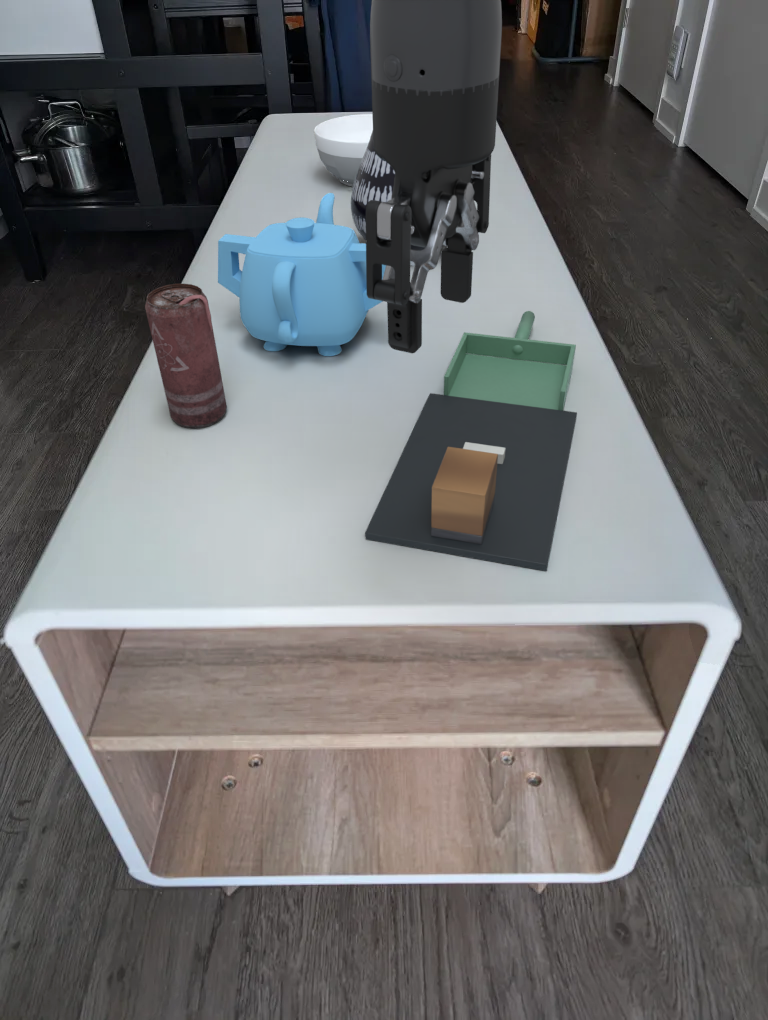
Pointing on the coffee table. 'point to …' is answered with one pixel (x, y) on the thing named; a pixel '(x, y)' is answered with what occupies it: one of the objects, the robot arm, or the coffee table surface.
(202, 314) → the can
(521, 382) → the dustpan
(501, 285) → the coffee table surface
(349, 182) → the bowl
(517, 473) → the slate
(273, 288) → the teapot
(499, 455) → the chalk
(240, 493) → the coffee table surface
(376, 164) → the vase
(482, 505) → the eraser
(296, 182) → the coffee table surface
